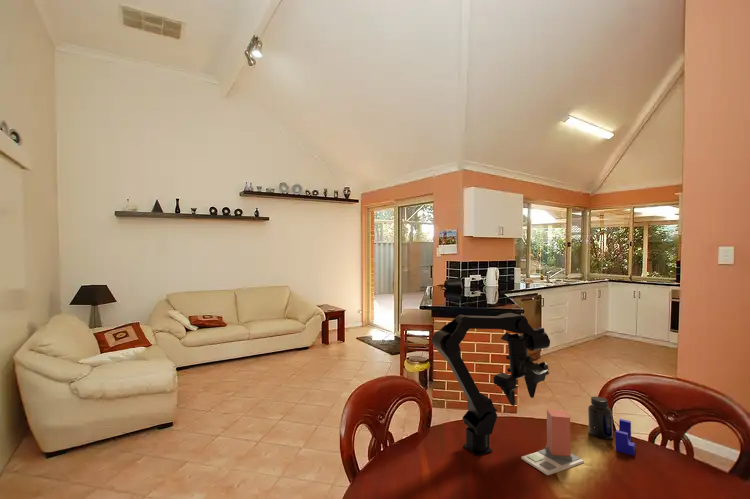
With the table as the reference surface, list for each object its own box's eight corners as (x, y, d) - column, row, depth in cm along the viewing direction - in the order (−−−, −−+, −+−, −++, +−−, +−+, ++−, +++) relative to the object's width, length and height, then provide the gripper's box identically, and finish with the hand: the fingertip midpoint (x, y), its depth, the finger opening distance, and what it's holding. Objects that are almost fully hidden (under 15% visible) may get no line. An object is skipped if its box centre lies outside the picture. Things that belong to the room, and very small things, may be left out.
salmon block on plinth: (551, 458, 104) (550, 416, 104) (545, 448, 110) (545, 408, 110) (572, 460, 103) (571, 418, 103) (565, 450, 109) (565, 410, 109)
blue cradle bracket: (633, 456, 107) (633, 436, 108) (615, 451, 110) (615, 431, 110) (636, 441, 117) (636, 422, 117) (620, 436, 120) (619, 418, 120)
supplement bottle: (605, 430, 123) (605, 395, 124) (617, 440, 116) (616, 403, 117) (584, 429, 124) (584, 394, 124) (594, 439, 117) (594, 402, 118)
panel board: (547, 475, 97) (547, 472, 97) (521, 458, 105) (521, 455, 105) (583, 462, 103) (583, 459, 103) (556, 447, 112) (556, 445, 112)
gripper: (519, 365, 104) (524, 419, 103) (559, 351, 113) (564, 401, 113) (490, 357, 113) (494, 406, 113) (528, 345, 122) (533, 390, 122)
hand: (522, 401), depth 115 cm, fingers open, 9 cm apart
